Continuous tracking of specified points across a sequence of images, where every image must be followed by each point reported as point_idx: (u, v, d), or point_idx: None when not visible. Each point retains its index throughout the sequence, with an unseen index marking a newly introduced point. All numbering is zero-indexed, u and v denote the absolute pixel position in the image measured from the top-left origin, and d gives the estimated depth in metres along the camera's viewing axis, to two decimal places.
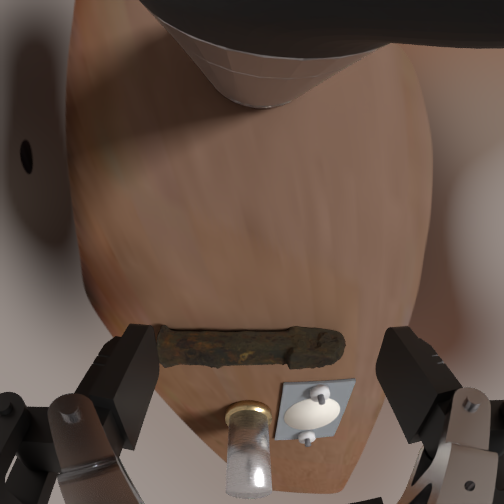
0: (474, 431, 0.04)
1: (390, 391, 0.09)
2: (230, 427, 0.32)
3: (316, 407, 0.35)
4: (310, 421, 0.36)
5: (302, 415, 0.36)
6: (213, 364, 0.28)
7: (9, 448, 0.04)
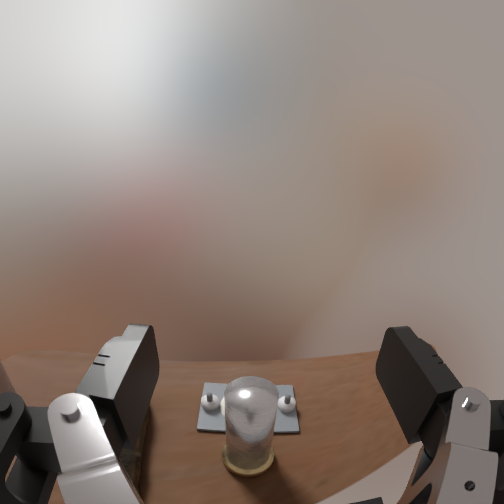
0: (475, 431, 0.04)
1: (390, 391, 0.09)
2: (238, 459, 0.26)
3: None
4: None
5: None
6: (129, 455, 0.25)
7: (9, 448, 0.04)
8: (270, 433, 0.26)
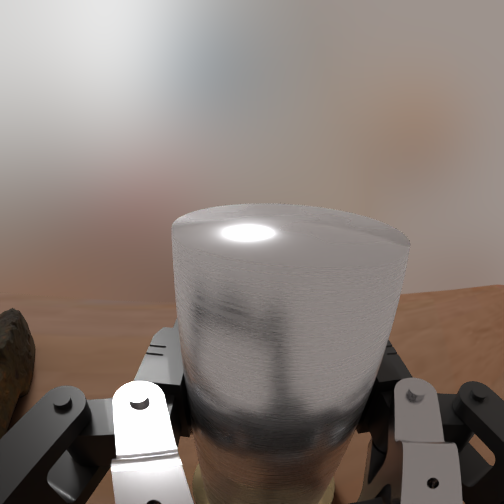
0: (425, 423, 0.05)
1: None
2: None
3: None
4: None
5: None
6: None
7: (60, 444, 0.04)
8: (359, 417, 0.06)
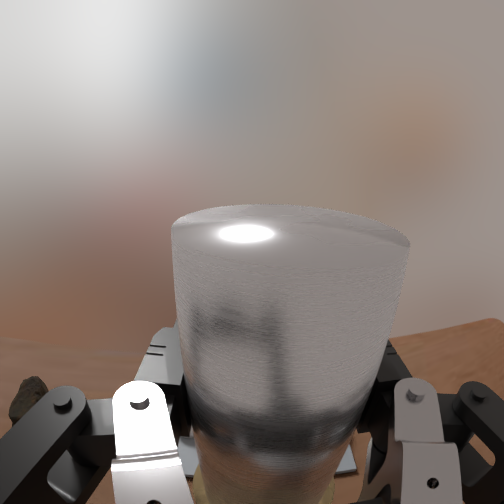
0: (425, 423, 0.05)
1: None
2: None
3: None
4: None
5: None
6: None
7: (60, 444, 0.04)
8: (359, 417, 0.06)
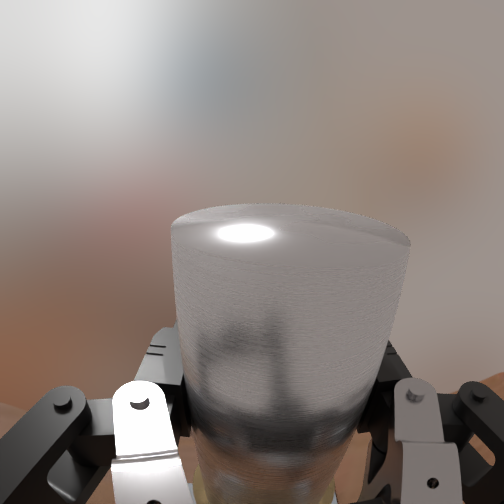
0: (425, 423, 0.05)
1: None
2: None
3: None
4: None
5: None
6: None
7: (60, 444, 0.04)
8: (360, 417, 0.06)
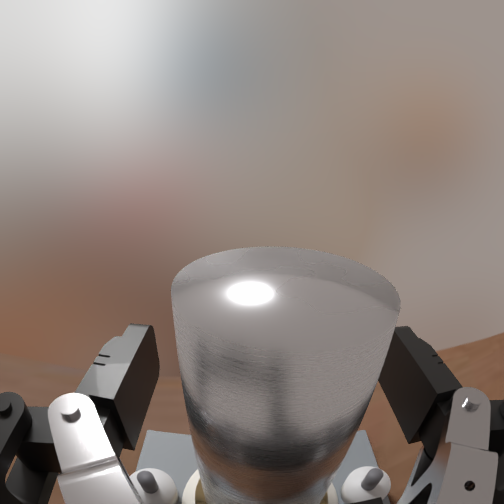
0: (474, 431, 0.04)
1: (390, 391, 0.09)
2: None
3: None
4: None
5: None
6: None
7: (9, 448, 0.04)
8: (348, 449, 0.07)
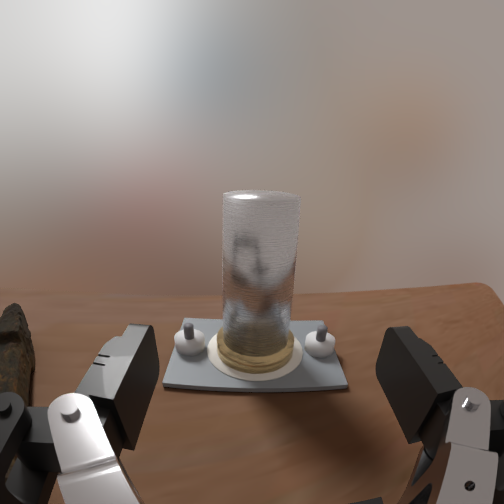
0: (474, 431, 0.04)
1: (390, 391, 0.09)
2: (241, 331, 0.20)
3: None
4: None
5: None
6: None
7: (9, 448, 0.04)
8: (290, 269, 0.19)
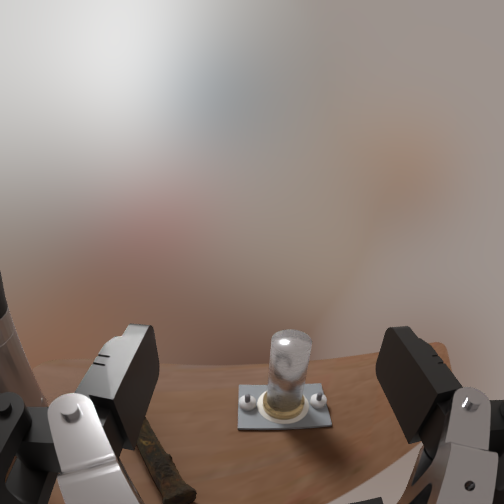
0: (474, 431, 0.04)
1: (390, 391, 0.09)
2: (278, 401, 0.37)
3: None
4: None
5: None
6: (163, 458, 0.27)
7: (9, 448, 0.04)
8: (305, 374, 0.36)
